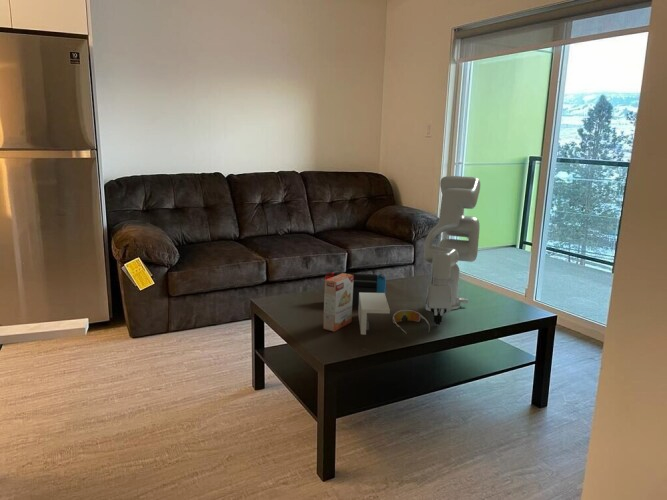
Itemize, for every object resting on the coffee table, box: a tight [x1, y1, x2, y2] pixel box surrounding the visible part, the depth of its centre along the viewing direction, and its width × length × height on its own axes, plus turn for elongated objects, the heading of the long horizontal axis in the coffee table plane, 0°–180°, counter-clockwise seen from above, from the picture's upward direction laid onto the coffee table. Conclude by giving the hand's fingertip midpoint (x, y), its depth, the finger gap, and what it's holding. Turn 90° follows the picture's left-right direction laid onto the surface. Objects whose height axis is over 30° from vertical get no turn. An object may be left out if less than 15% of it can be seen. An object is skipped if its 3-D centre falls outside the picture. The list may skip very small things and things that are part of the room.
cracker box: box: [322, 272, 354, 332], centre depth 215 cm, size 14×6×21 cm, turn 148°
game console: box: [324, 271, 387, 307], centre depth 244 cm, size 28×6×15 cm, turn 84°
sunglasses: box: [392, 309, 431, 334], centre depth 219 cm, size 14×15×5 cm
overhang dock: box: [357, 292, 391, 336], centre depth 219 cm, size 11×22×10 cm, turn 0°
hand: (437, 323), depth 220 cm, fingers closed
